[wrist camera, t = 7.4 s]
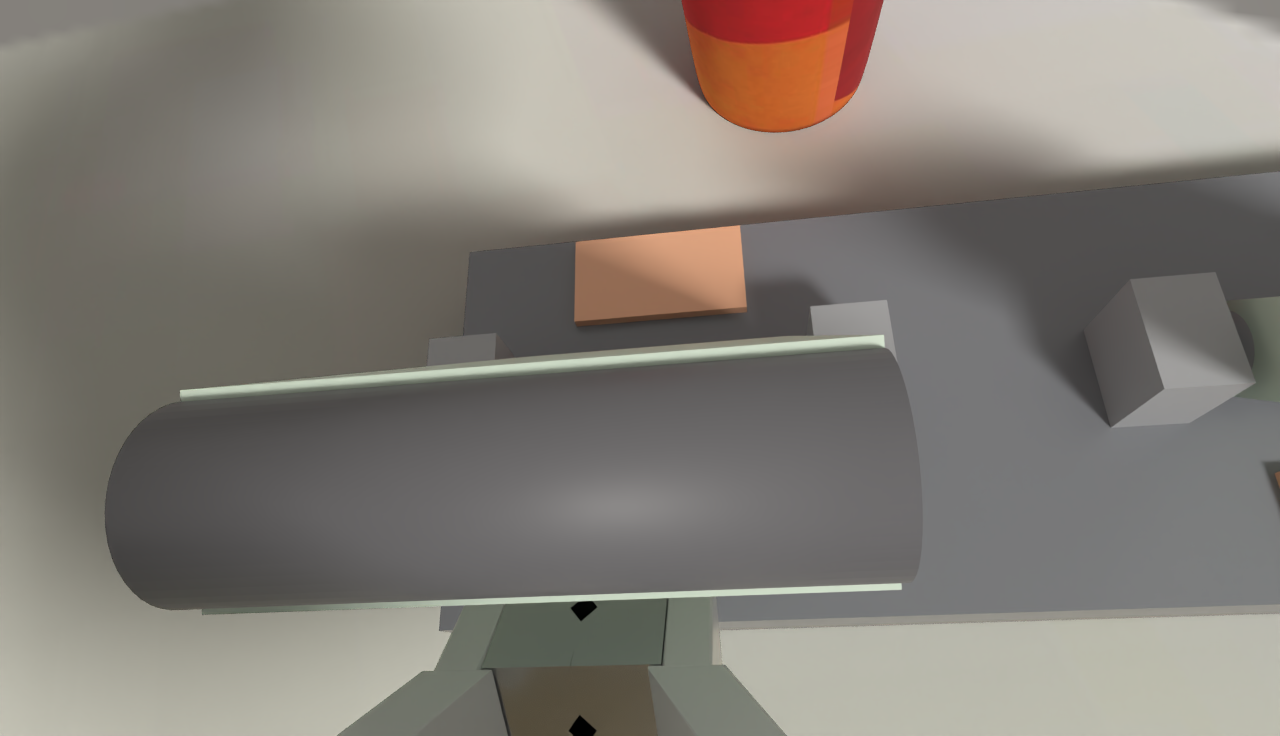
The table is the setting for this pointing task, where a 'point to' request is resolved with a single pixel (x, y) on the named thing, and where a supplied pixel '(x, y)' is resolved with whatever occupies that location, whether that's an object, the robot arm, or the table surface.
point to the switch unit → (984, 383)
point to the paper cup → (780, 57)
